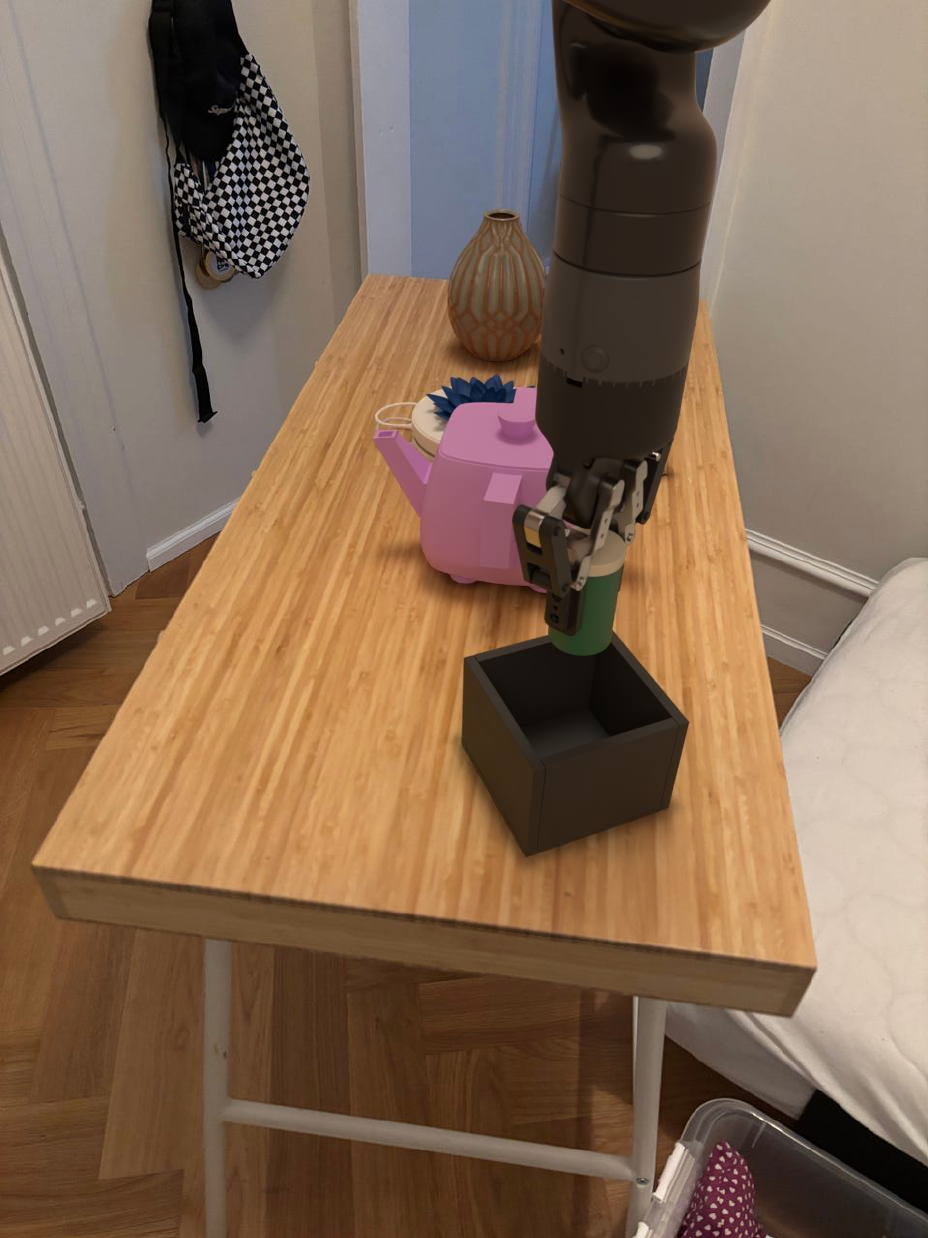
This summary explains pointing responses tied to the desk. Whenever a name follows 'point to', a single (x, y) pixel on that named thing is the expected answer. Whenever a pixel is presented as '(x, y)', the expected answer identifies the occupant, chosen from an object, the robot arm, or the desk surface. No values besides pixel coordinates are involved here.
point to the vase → (497, 290)
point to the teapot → (475, 487)
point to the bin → (569, 739)
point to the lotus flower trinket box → (446, 409)
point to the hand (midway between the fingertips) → (582, 608)
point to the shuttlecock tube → (596, 600)
